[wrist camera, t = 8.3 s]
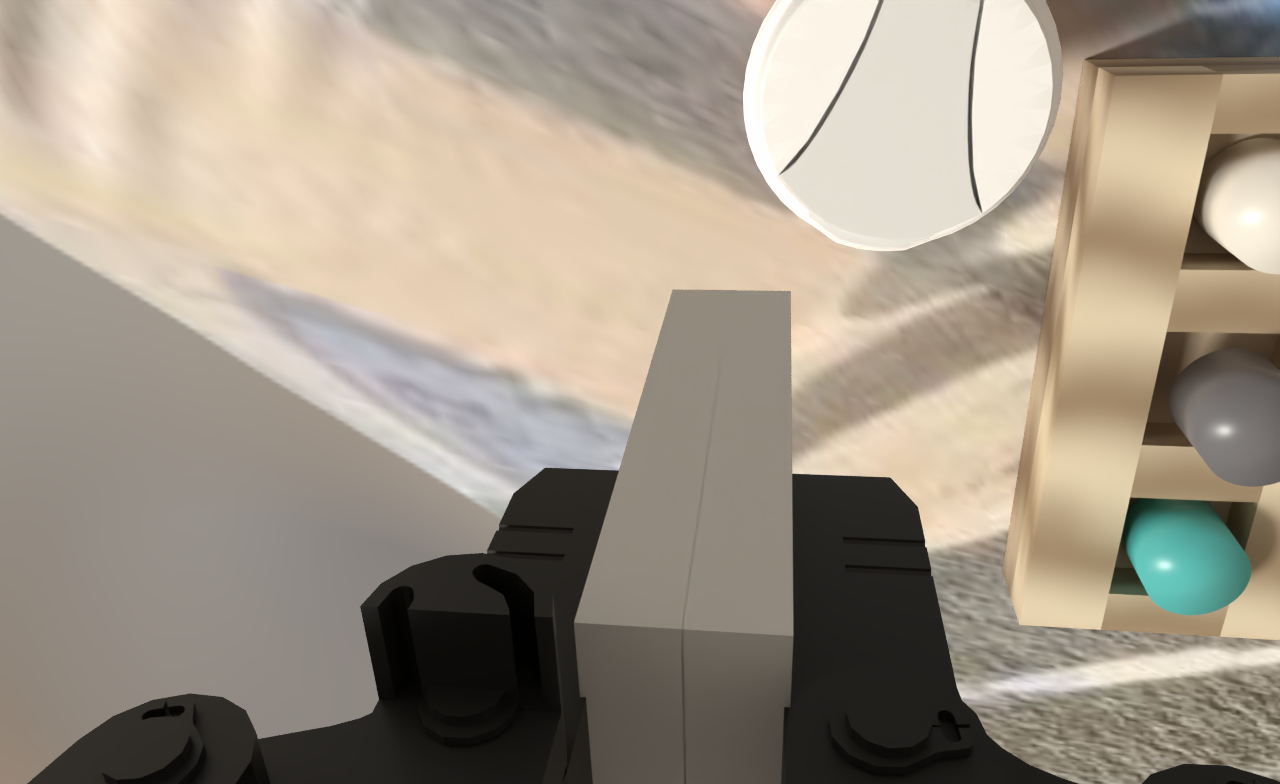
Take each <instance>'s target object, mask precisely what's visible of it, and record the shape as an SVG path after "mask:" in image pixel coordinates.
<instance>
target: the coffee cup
mask: <svg viewBox="0 0 1280 784" xmlns="http://www.w3.org/2000/svg"><path fill="white" fill-rule="evenodd" d="M1062 79H1063V66H1062V50H1061V45H1060V40H1059V36H1058V32H1057V27H1056V23H1055V21H1054V19H1053V16H1052V14H1051V12H1050V9H1049V7H1048V5H1047V2H1046V0H776V2H775V3H774V5H773V7H772V8H771V10H770V11H769V13H768V15H767V16H766V18H765V19H764V21H763V23H762V25H761V28H760V30H759V32H758V34H757V37H756V39H755V41H754V43H753V46H752V50H751V54H750V57H749V61H748V65H747V68H746V75H745V83H744V92H743V103H744V121H745V126H746V131H747V136H748V142H749V144H750V147H751V150H752V153H753V156H754V158H755V161H756V164H757V166H758V167H759V169H760V171H761V173H762V174H763V176H764V178H765V180H766V182H767V183H768V185H769V186H770V187H771V189H772V190H773V191H774V192H775V194H776V195H777V196H778V197H779V199H780V200H781V201H782V202H783V203H784V204H785V205H786V206H787V207H788V208H790V209H791V210H792V211H793V212H794V213H795V214H796V215H797V216H798V217H800V218H801V219H803V220H805V221H806V222H808V223H809V224H811V225H812V226H814V227H815V228H817V229H818V230H820V231H821V232H822V233H824V234H825V235H826V236H828V237H829V238H830V239H832V240H833V241H835V242H836V243H839V244H843V245H847V246H850V247H854V248H858V249H866V250H875V251H899V250H906V249H909V248H912V247H914V246H917V245H920V244H922V243H925V242H928V241H931V240H934V239H937V238H940V237H943V236H946V235H949V234H952V233H954V232H956V231H958V230H960V229H962V228H964V227H966V226H968V225H970V224H972V223H974V222H975V221H977V220H978V219H980V218H981V217H983V216H984V215H986V214H987V213H988V212H990V211H991V210H993V209H994V208H996V207H997V206H998V205H999V204H1000V203H1001V202H1002V201H1003V200H1004V199H1005V198H1006V197H1008V196H1009V195H1010V194H1011V193H1012V192H1013V191H1014V190H1015V189H1016V188H1017V186H1018V185H1019V184H1020V183H1021V181H1022V180H1023V179H1024V178H1025V177H1026V175H1027V174H1028V173H1029V172H1030V170H1031V169H1032V167H1033V166H1034V164H1035V162H1036V161H1037V159H1038V157H1039V156H1040V154H1041V152H1042V151H1043V149H1044V147H1045V145H1046V142H1047V140H1048V138H1049V135H1050V133H1051V131H1052V128H1053V126H1054V123H1055V119H1056V115H1057V111H1058V107H1059V104H1060V99H1061V89H1062Z"/></svg>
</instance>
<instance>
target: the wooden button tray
mask: <svg viewBox="0 0 1280 784" xmlns="http://www.w3.org/2000/svg"><path fill="white" fill-rule="evenodd" d="M1255 138H1272V139H1278V140H1280V56H1276V57H1214V58H1152V59H1089V60H1084V63H1083V69H1082V75H1081V82H1080V88H1079V94H1078V100H1077V107H1076V113H1075V119H1074V126H1073V132H1072V138H1071V144H1070V151H1069V157H1068V163H1067V170H1066V176H1065V182H1064V188H1063V195H1062V201H1061V207H1060V214H1059V220H1058V226H1057V232H1056V239H1055V245H1054V251H1053V257H1052V264H1051V270H1050V276H1049V283H1048V289H1047V295H1046V301H1045V308H1044V314H1043V320H1042V327H1041V333H1040V339H1039V345H1038V352H1037V358H1036V364H1035V371H1034V377H1033V383H1032V389H1031V396H1030V402H1029V408H1028V415H1027V421H1026V427H1025V433H1024V440H1023V446H1022V452H1021V458H1020V465H1019V471H1018V477H1017V484H1016V490H1015V496H1014V502H1013V509H1012V515H1011V521H1010V528H1009V534H1008V540H1007V546H1006V553H1005V559H1004V565H1003V575H1004V578H1005V581H1006V584H1007V587H1008V590H1009V593H1010V596H1011V599H1012V603H1013V606H1014V609H1015V612H1016V615H1017V618H1018V621H1019V624H1020V625H1032V626H1049V627H1066V628H1083V629H1100V630H1117V631H1134V632H1151V633H1168V634H1185V635H1202V636H1219V637H1237V638H1254V639H1271V640H1280V482H1278V483H1275V484H1271V485H1266V486H1258V487H1248V486H1240V485H1235V484H1232V483H1229V482H1227V481H1225V480H1223V479H1221V478H1220V477H1218V476H1217V475H1216V474H1214V473H1213V472H1212V471H1211V469H1210V468H1209V467H1208V466H1207V464H1206V463H1205V462H1204V460H1203V459H1202V458H1201V456H1200V455H1199V454H1198V452H1197V451H1196V449H1195V448H1194V447H1193V445H1192V444H1191V443H1190V441H1189V440H1188V439H1187V437H1186V436H1185V435H1184V433H1183V432H1182V431H1181V429H1180V428H1179V427H1178V425H1177V424H1176V423H1175V421H1174V420H1173V418H1172V416H1171V413H1170V409H1169V396H1170V392H1171V388H1172V386H1173V384H1174V382H1175V380H1176V379H1177V377H1178V376H1179V374H1180V373H1181V372H1182V371H1183V370H1184V369H1185V368H1186V367H1187V366H1188V365H1189V364H1191V363H1192V362H1193V361H1195V360H1196V359H1198V358H1200V357H1202V356H1204V355H1206V354H1208V353H1211V352H1214V351H1218V350H1222V349H1229V348H1241V349H1248V350H1252V351H1255V352H1258V353H1260V354H1262V355H1264V356H1265V357H1266V358H1268V359H1269V360H1270V361H1271V362H1272V363H1273V364H1274V365H1275V366H1276V367H1277V368H1279V369H1280V274H1268V273H1263V272H1260V271H1257V270H1255V269H1253V268H1251V267H1249V266H1247V265H1246V264H1245V263H1243V262H1242V261H1241V260H1239V259H1238V258H1237V257H1236V256H1234V255H1233V254H1232V253H1231V252H1229V251H1228V250H1227V249H1225V248H1224V247H1223V246H1222V245H1220V244H1219V243H1218V242H1217V241H1215V240H1214V239H1213V238H1211V237H1210V236H1209V235H1208V234H1206V233H1205V232H1204V231H1203V230H1202V229H1201V228H1200V226H1199V225H1198V223H1197V222H1196V220H1195V217H1194V214H1193V210H1194V205H1195V201H1196V196H1197V192H1198V187H1199V183H1200V178H1201V174H1202V171H1203V169H1204V168H1205V167H1206V165H1207V164H1208V163H1209V162H1210V161H1211V160H1212V159H1213V158H1214V157H1215V156H1216V155H1218V154H1219V153H1220V152H1222V151H1223V150H1225V149H1226V148H1228V147H1230V146H1232V145H1234V144H1237V143H1239V142H1242V141H1245V140H1249V139H1255ZM1142 498H1157V499H1181V500H1206V501H1209V502H1210V504H1211V505H1212V506H1213V508H1214V509H1215V510H1216V512H1217V513H1218V515H1219V516H1220V517H1221V519H1222V520H1223V522H1224V523H1225V525H1226V526H1227V527H1228V529H1229V530H1230V532H1231V533H1232V534H1233V536H1234V537H1235V539H1236V540H1237V542H1238V543H1239V544H1240V546H1241V547H1242V549H1243V550H1244V551H1245V553H1246V554H1247V556H1248V558H1249V561H1250V564H1251V576H1250V580H1249V583H1248V585H1247V587H1246V588H1245V590H1244V591H1243V593H1242V594H1241V595H1240V596H1239V597H1238V598H1237V599H1236V600H1234V601H1233V602H1232V603H1230V604H1229V605H1227V606H1226V607H1224V608H1222V609H1219V610H1217V611H1214V612H1211V613H1207V614H1202V615H1180V614H1175V613H1172V612H1169V611H1167V610H1164V609H1162V608H1161V607H1159V606H1158V605H1157V604H1155V603H1154V602H1153V601H1152V599H1151V598H1150V597H1149V595H1148V593H1147V591H1146V589H1145V588H1144V586H1143V584H1142V582H1141V580H1140V578H1139V576H1138V574H1137V572H1136V570H1135V568H1134V567H1133V565H1132V563H1131V561H1130V559H1129V557H1128V555H1127V553H1126V551H1125V549H1124V547H1123V545H1122V543H1121V536H1122V532H1123V527H1124V522H1125V518H1126V513H1127V511H1128V509H1129V508H1130V507H1131V506H1132V505H1133V504H1134V503H1136V502H1137V501H1138V500H1140V499H1142Z"/></svg>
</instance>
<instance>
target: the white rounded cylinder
mask: <svg viewBox="0 0 1280 784" xmlns="http://www.w3.org/2000/svg"><path fill="white" fill-rule="evenodd" d="M1193 214H1194V217H1195V220H1196V222H1197V223H1198V225H1199V226H1200V228H1201V229H1202V230H1203V231H1204V232H1205V233H1206V234H1208V235H1209V236H1210V237H1211V238H1213V239H1214V240H1215V241H1217V242H1218V243H1219V244H1220V245H1222V246H1223V247H1224V248H1225V249H1227V250H1228V251H1229V252H1231V253H1232V254H1233V255H1234V256H1236V257H1237V258H1238V259H1239V260H1241V261H1242V262H1243V263H1245V264H1246V265H1247V266H1249V267H1251V268H1253V269H1255V270H1257V271H1260V272H1263V273H1268V274H1280V140H1278V139H1272V138H1255V139H1249V140H1245V141H1242V142H1239V143H1237V144H1234V145H1232V146H1230V147H1228V148H1226V149H1225V150H1223V151H1222V152H1220V153H1219V154H1218V155H1216V156H1215V157H1214V158H1213V159H1212V160H1211V161H1210V162H1209V163H1208V164H1207V165H1206V167H1205V168H1204V169H1203V171H1202V174H1201V178H1200V183H1199V187H1198V192H1197V196H1196V201H1195V205H1194V210H1193Z"/></svg>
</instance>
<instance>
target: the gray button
mask: <svg viewBox="0 0 1280 784" xmlns="http://www.w3.org/2000/svg"><path fill="white" fill-rule="evenodd" d="M1169 409H1170V413H1171V416H1172V418H1173V420H1174V421H1175V423H1176V424H1177V425H1178V427H1179V428H1180V429H1181V431H1182V432H1183V433H1184V435H1185V436H1186V437H1187V439H1188V440H1189V441H1190V443H1191V444H1192V445H1193V447H1194V448H1195V449H1196V451H1197V452H1198V454H1199V455H1200V456H1201V458H1202V459H1203V460H1204V462H1205V463H1206V464H1207V466H1208V467H1209V468H1210V469H1211V471H1212V472H1213V473H1214V474H1216V475H1217V476H1218V477H1220V478H1221V479H1223V480H1225V481H1227V482H1229V483H1232V484H1235V485H1240V486H1248V487H1258V486H1266V485H1271V484H1275V483H1278V482H1280V369H1279V368H1277V367H1276V366H1275V365H1274V364H1273V363H1272V362H1271V361H1270V360H1269V359H1268V358H1266V357H1265V356H1264V355H1262V354H1260V353H1258V352H1255V351H1252V350H1248V349H1241V348H1229V349H1222V350H1218V351H1214V352H1211V353H1208V354H1206V355H1204V356H1202V357H1200V358H1198V359H1196V360H1195V361H1193V362H1192V363H1191V364H1189V365H1188V366H1187V367H1186V368H1185V369H1184V370H1183V371H1182V372H1181V373H1180V374H1179V376H1178V377H1177V379H1176V380H1175V382H1174V384H1173V386H1172V388H1171V392H1170V396H1169Z"/></svg>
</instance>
